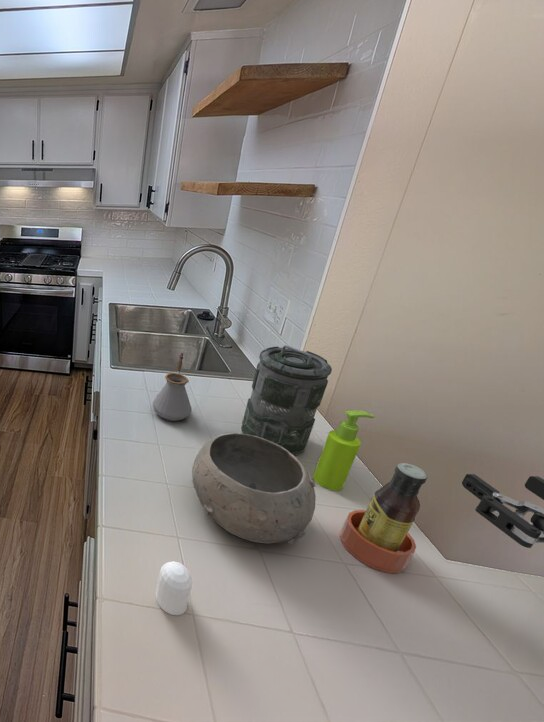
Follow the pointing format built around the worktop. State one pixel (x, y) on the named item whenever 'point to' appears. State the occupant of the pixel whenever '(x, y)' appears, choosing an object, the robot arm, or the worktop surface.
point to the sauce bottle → (393, 508)
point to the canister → (286, 396)
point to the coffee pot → (173, 397)
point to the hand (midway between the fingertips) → (497, 479)
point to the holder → (375, 547)
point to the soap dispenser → (339, 452)
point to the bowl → (254, 488)
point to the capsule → (173, 588)
